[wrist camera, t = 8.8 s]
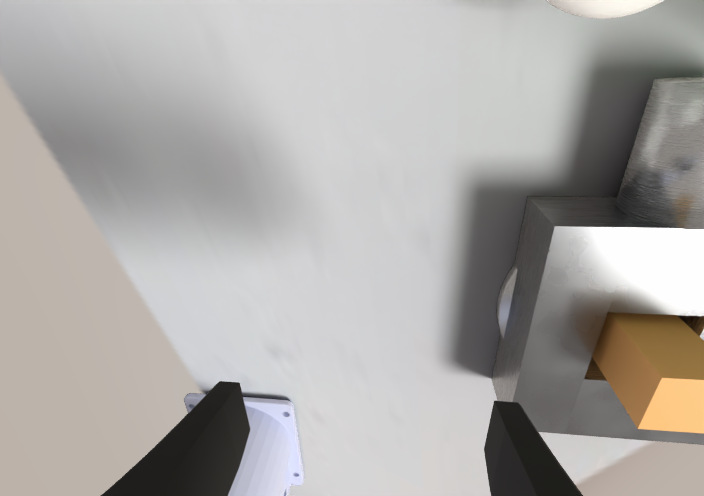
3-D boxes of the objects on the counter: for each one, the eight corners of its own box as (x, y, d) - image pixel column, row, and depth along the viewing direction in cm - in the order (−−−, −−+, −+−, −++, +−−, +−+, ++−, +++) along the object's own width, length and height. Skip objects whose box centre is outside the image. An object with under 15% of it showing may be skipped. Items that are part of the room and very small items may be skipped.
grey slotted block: (675, 390, 22) (722, 448, 19) (483, 378, 23) (496, 430, 20) (841, 73, 14) (969, 78, 11) (537, 81, 15) (573, 88, 12)
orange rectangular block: (648, 288, 18) (747, 382, 13) (631, 332, 20) (715, 434, 14) (588, 286, 19) (661, 377, 13) (575, 330, 20) (637, 428, 15)
